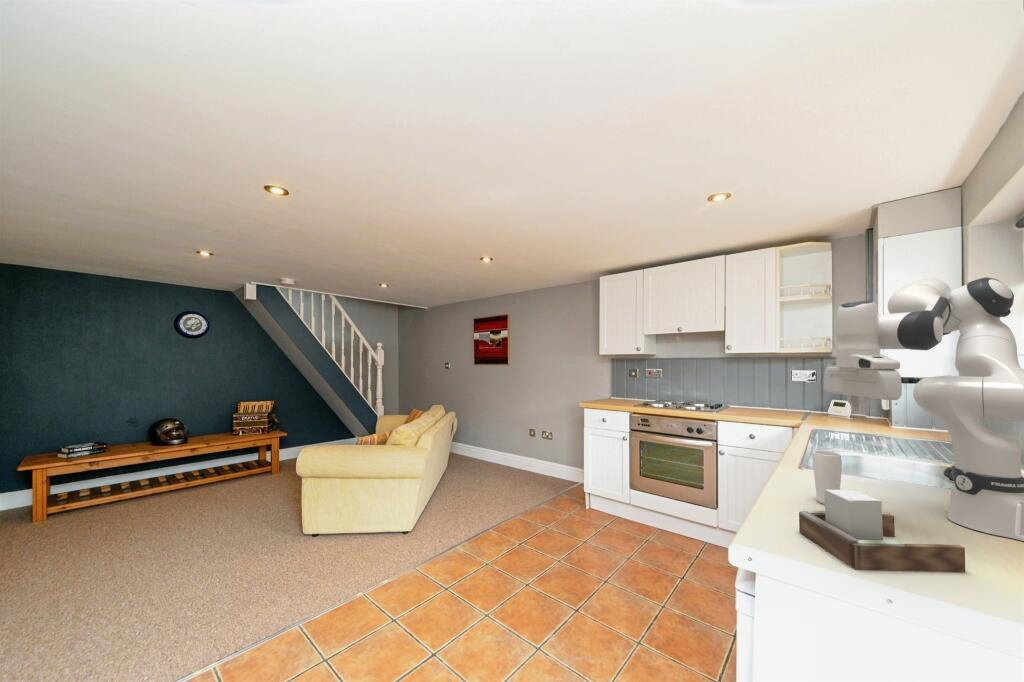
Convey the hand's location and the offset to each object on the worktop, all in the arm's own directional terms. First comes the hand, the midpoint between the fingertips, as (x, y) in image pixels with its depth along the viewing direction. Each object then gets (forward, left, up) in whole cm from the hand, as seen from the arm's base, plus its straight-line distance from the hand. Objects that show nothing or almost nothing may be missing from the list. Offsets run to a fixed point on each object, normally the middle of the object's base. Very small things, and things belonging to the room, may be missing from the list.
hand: (859, 413), depth 102 cm
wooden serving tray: (+9, +14, -29) cm, 33 cm away
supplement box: (+14, +14, -29) cm, 35 cm away
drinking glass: (-2, -14, -29) cm, 33 cm away
